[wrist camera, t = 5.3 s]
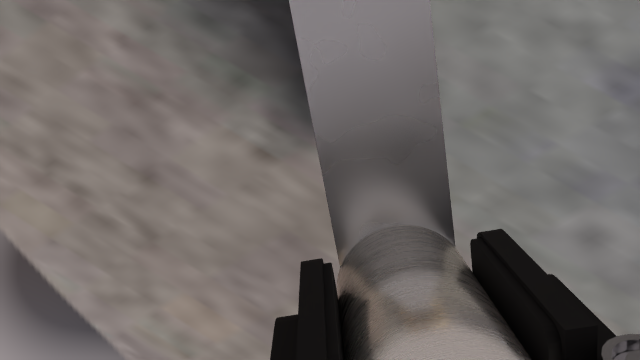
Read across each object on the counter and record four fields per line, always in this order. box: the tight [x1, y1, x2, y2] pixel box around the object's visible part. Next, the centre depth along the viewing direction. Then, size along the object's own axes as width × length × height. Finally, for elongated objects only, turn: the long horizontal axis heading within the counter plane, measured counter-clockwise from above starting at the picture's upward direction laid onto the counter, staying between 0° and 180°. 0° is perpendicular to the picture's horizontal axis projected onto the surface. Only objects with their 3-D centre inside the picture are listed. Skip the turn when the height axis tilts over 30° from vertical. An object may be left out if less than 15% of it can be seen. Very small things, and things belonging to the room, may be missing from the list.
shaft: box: [289, 0, 532, 360], centre depth 8 cm, size 3×17×9 cm, turn 10°
